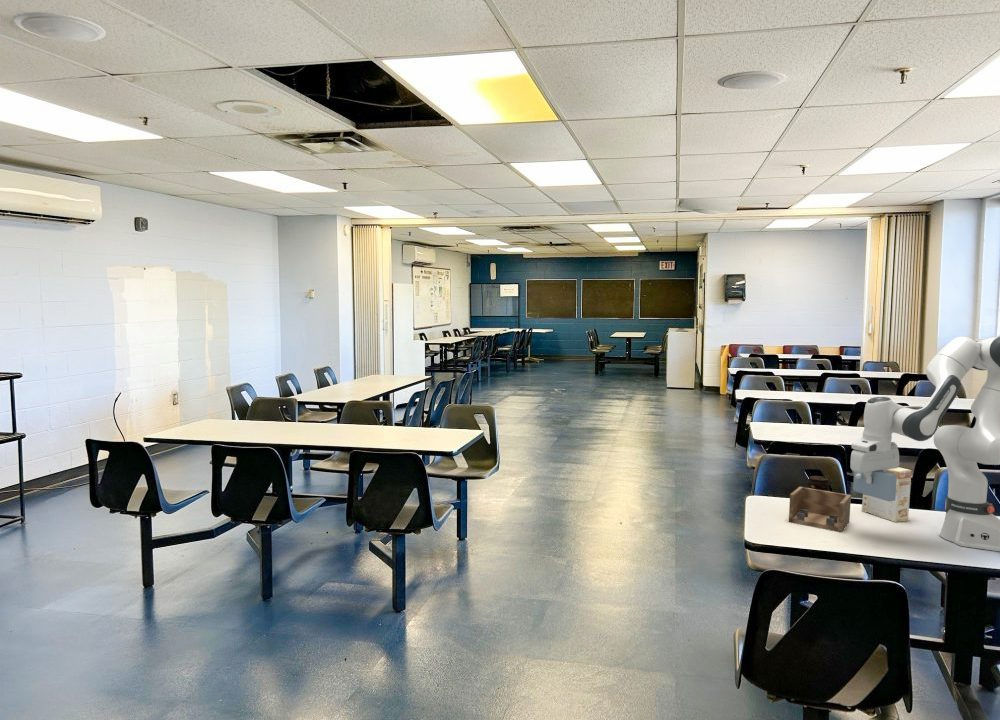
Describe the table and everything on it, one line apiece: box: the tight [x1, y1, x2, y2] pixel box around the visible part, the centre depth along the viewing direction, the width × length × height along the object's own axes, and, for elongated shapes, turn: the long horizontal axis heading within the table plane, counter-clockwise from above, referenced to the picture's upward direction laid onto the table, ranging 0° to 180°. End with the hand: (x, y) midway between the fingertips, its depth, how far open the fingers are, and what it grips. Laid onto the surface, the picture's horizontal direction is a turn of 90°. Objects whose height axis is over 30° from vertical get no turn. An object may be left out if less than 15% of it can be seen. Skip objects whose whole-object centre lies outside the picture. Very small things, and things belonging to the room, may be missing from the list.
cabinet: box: [788, 486, 852, 533], centre depth 253 cm, size 18×14×10 cm
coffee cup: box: [806, 475, 832, 492], centre depth 268 cm, size 9×8×13 cm
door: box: [852, 470, 897, 501], centre depth 238 cm, size 14×4×9 cm, turn 23°
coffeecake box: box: [861, 466, 912, 523], centre depth 262 cm, size 15×7×20 cm, turn 22°
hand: (874, 482), depth 238 cm, fingers closed on door, 3 cm apart
